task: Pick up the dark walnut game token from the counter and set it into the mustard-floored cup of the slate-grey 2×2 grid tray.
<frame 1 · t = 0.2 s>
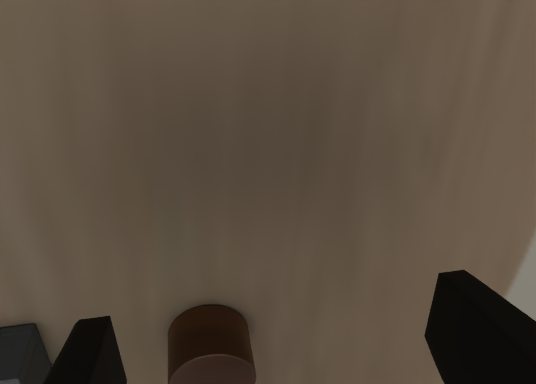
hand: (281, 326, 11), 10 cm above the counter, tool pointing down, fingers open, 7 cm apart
token: (208, 333, 25), on the counter
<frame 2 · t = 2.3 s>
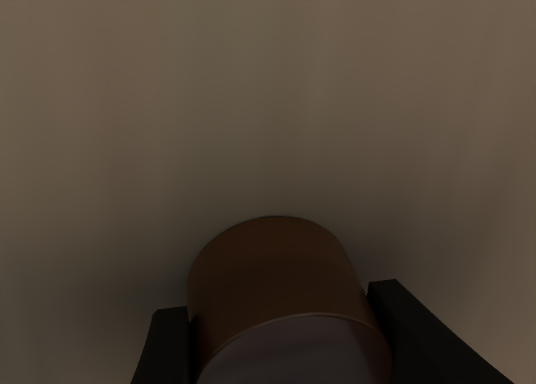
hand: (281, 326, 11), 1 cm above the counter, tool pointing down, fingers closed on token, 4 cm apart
token: (269, 282, 12), on the counter, touching gripper
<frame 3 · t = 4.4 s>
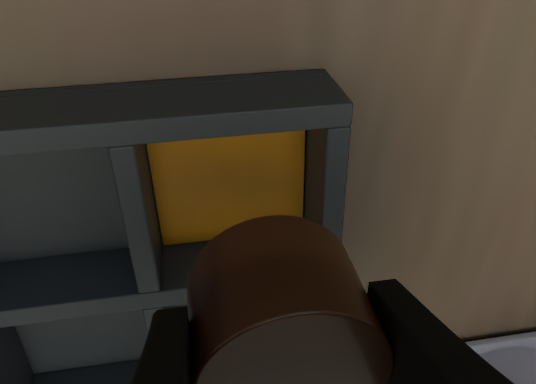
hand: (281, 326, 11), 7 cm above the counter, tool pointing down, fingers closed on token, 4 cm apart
token: (269, 281, 12), point 6 cm above the counter, touching gripper
grid: (153, 243, 18), on the counter
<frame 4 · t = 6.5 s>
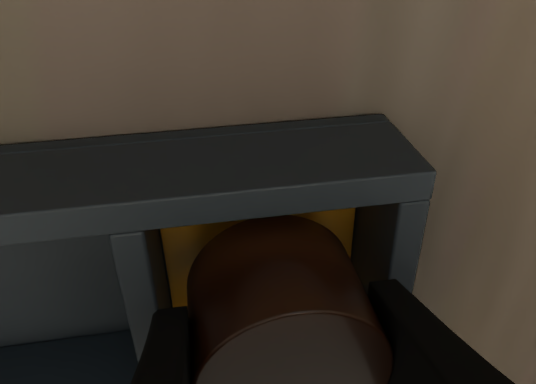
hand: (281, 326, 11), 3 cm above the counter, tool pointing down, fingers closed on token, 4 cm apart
token: (269, 281, 12), point 2 cm above the counter, touching gripper
grid: (163, 320, 15), on the counter
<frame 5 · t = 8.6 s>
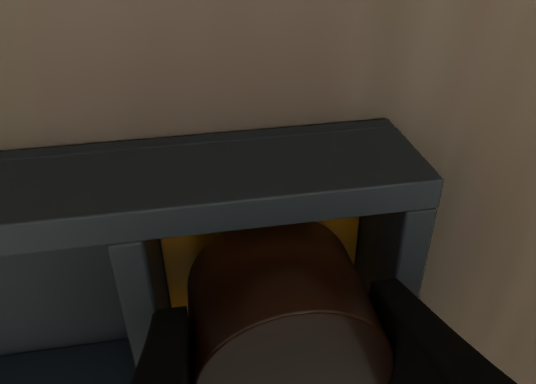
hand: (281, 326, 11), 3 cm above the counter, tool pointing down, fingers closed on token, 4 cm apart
token: (269, 280, 12), point 2 cm above the counter, touching gripper
grid: (163, 328, 15), on the counter
when the fingers open (4 cm above the counter, at t = 10.3 s): token drops 2 cm, resting on grid.
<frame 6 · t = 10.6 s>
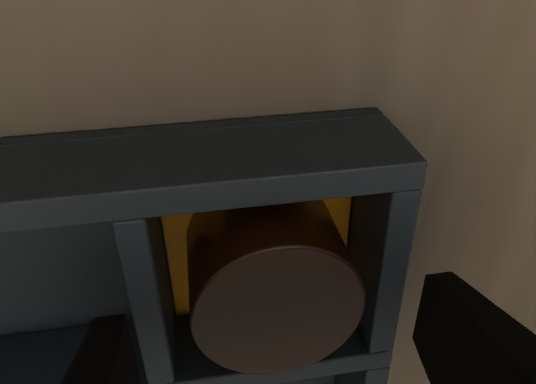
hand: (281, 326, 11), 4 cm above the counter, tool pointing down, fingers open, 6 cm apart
token: (259, 236, 13), point 1 cm above the counter, touching grid
grid: (164, 310, 15), on the counter
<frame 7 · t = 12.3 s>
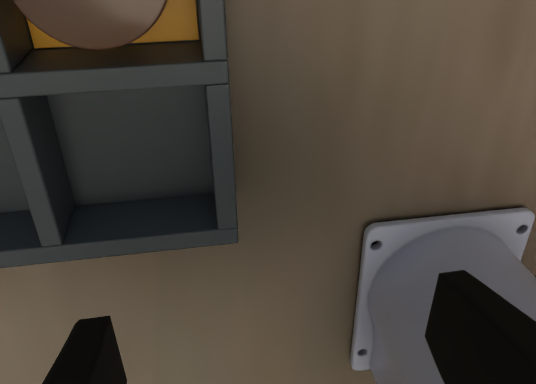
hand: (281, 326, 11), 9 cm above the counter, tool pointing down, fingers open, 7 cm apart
grid: (30, 55, 16), on the counter
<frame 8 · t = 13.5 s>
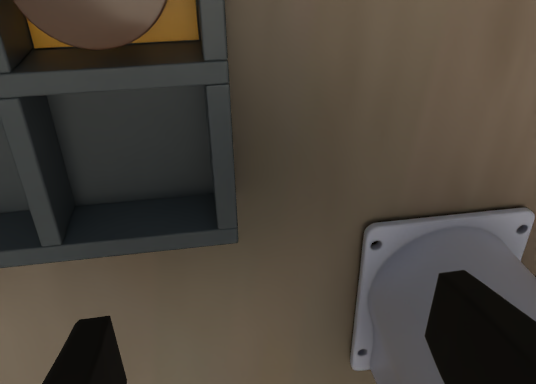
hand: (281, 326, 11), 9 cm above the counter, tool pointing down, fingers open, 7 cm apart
grid: (30, 55, 16), on the counter
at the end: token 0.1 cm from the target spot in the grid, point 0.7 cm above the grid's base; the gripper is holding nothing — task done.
